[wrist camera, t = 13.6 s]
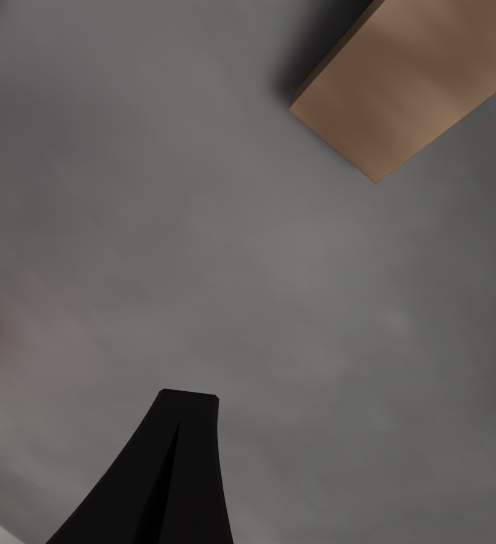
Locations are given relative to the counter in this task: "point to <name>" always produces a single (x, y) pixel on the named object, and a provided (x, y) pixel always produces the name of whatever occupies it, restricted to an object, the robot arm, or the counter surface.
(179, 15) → the counter surface
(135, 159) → the counter surface
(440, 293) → the counter surface
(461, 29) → the domino
